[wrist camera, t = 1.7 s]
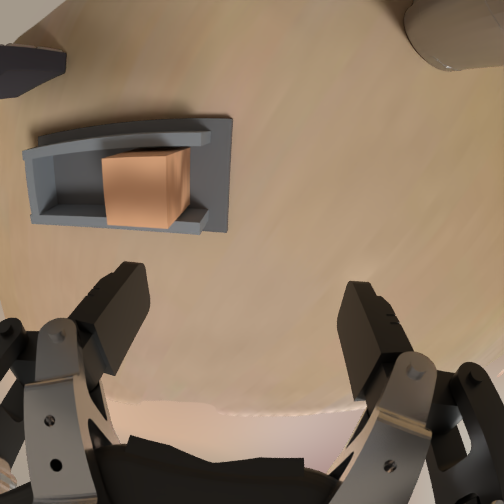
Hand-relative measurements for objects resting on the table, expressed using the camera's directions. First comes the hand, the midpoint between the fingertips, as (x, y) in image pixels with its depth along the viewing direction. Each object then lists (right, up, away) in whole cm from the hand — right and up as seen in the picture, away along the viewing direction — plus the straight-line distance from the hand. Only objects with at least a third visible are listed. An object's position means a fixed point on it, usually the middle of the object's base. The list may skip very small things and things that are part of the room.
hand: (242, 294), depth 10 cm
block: (-9, +9, +17) cm, 22 cm away
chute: (-15, +10, +18) cm, 26 cm away
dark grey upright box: (-28, +25, +12) cm, 39 cm away
